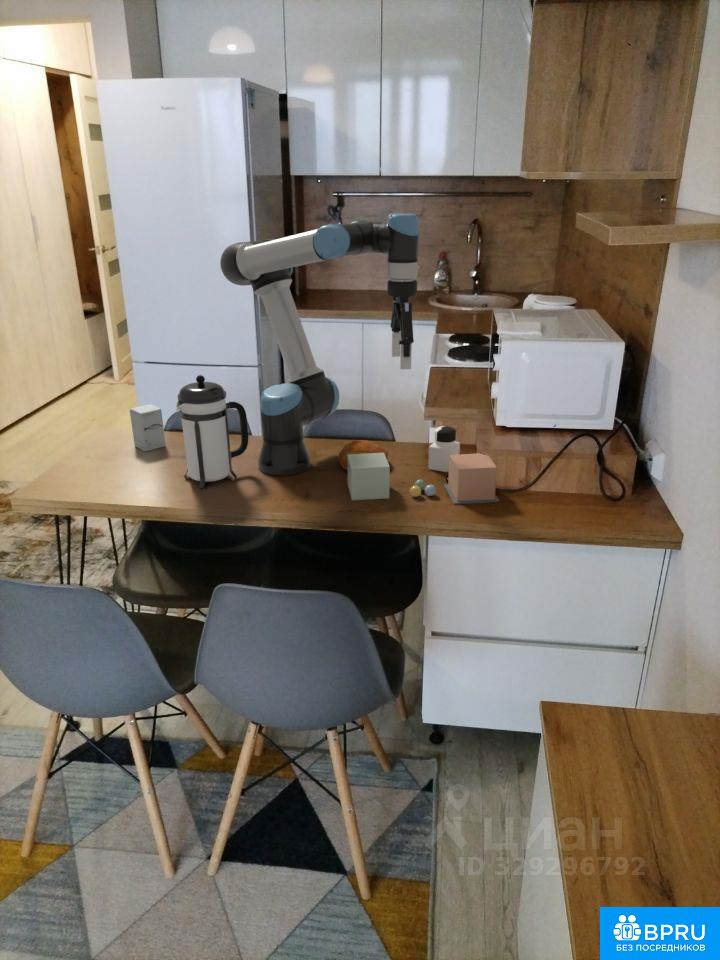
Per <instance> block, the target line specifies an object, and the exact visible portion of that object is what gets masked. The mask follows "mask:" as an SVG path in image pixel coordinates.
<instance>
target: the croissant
mask: <svg viewBox="0 0 720 960" xmlns="http://www.w3.org/2000/svg"><path fill="white" fill-rule="evenodd" d="M367 453H384V454H385V456H386V459H387V461H388V455H389V453H388V451H387V450H386V449H385V448H384V447H382V446H381V445H379V444H376V443H375V442H372V441H370V440H368V439H367V440H366V439H364V440H363V439H362V440H361V439H360V440H359V439H355V440H352V441H351V442H348V443H346V445H343V447H342V449H341V450H340V452H338V462H339V464H340V466H341V467H342V469H343V470H345V471H347V472H348V464H347V454H367Z"/></svg>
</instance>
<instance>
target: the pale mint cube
mask: <svg viewBox="0 0 720 960" xmlns="http://www.w3.org/2000/svg"><path fill="white" fill-rule="evenodd" d="M387 459H388V458H387ZM387 459H386V456H385V454H384V453H367V454H347V464H348V471H347V486H348V491H349V496H350V499H351V501H360V500H361V501H365V500H380V499H382V500H383V499H390V482H391V481H390V479H391V478H390V475H391V474H390V470H391V469H390V464H389V461H388V460H387Z"/></svg>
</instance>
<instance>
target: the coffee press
mask: <svg viewBox="0 0 720 960" xmlns="http://www.w3.org/2000/svg"><path fill="white" fill-rule="evenodd" d="M195 378H196V379H195V380H196V382H192V383H188V384H186V385H184V386H183V387H181V388H180V389H179V392H178V394H177V396H176V397H177V401H176V405H175V407H174V408H175V410H176V411H179V416H180V418H181V425H182V426H181V427H182V433H183V441H184V448H185V449H184V451H185V458H186V459H185V460H186V466H187V469H186V472H185V474H184V476H183V477H184V479H185V480H189V479H192V480H195V481H197V482H199V486H198V487H199V490H206V488H207V484H208V482H209V483H211V482H216V481H220V480H223V479H225V478H228V479H229V480H230V481H231V482H235V481H236V479H237V478H238V476H237V475H236V473H235V472H234V471H233V466H232V465H233V464H232V462H233V461H232V459H234V458H236V457H238V456H241V455H242V454H244V453H245V451H246V450H247V449H248V444H249V430H248V418H247V412H246V410H245V407H244V406H243V405H242V404H241V403H239V402H238V401H237V402H236V401H229V402H226V398H227V392H226V390H225V389H224V387H223V386H222V385H221V384H219V383H216V382H213V381H212V382H211V381H205V380H206V377H205V376H204V375H202V374H201V375H200V374H199V375H197V377H195ZM228 409H236V411H237V412H238V414H239V426H240V439H241V442H240V445H239V447H238V448H237V449H234V450H232V451H231V443H230V432H229V430H230V429H229V423H228V422H229V421H228ZM187 474H188V475H187ZM230 474H231V475H232V476H233V477H234V478H233V477H232V476H231V475H230Z"/></svg>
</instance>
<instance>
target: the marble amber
mask: <svg viewBox="0 0 720 960" xmlns="http://www.w3.org/2000/svg"><path fill="white" fill-rule="evenodd" d="M409 494H410V495H411V497H414V498H417V497H419V496H420V495H421V494H422V490H421V489H420V487H419V486H415V485H413V486H411V487H410V488H409Z"/></svg>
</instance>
